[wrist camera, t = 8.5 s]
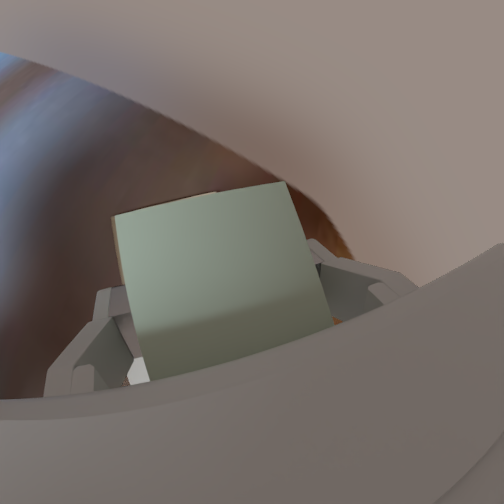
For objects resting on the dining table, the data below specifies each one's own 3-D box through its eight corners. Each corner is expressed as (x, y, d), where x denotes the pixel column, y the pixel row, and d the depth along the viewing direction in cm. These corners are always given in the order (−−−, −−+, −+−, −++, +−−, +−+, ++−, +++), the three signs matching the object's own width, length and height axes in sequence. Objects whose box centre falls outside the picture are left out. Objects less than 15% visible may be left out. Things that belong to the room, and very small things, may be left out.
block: (179, 366, 13) (157, 403, 5) (156, 279, 14) (114, 215, 6) (265, 342, 14) (340, 345, 7) (240, 259, 15) (284, 181, 8)
